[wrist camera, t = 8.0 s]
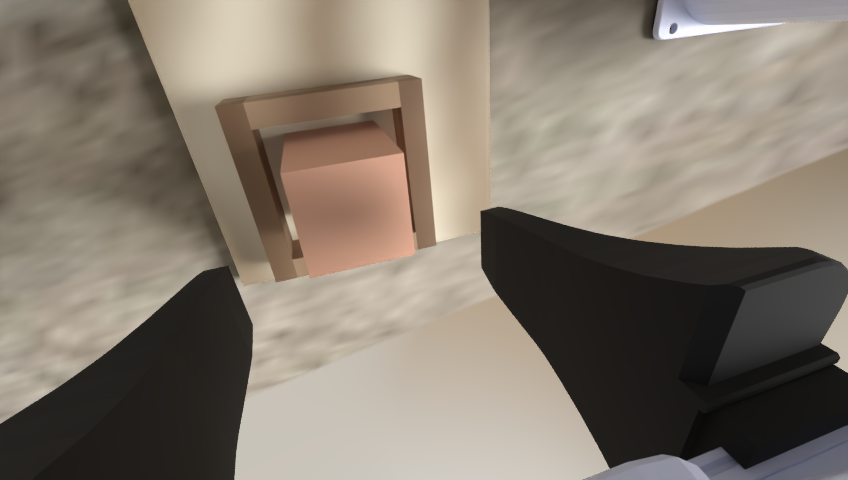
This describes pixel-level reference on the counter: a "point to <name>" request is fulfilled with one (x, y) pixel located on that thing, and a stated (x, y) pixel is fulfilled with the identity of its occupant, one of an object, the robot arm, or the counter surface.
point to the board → (325, 105)
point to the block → (347, 196)
